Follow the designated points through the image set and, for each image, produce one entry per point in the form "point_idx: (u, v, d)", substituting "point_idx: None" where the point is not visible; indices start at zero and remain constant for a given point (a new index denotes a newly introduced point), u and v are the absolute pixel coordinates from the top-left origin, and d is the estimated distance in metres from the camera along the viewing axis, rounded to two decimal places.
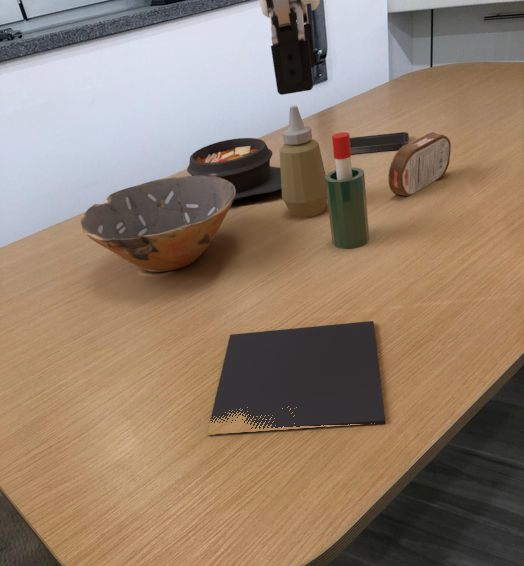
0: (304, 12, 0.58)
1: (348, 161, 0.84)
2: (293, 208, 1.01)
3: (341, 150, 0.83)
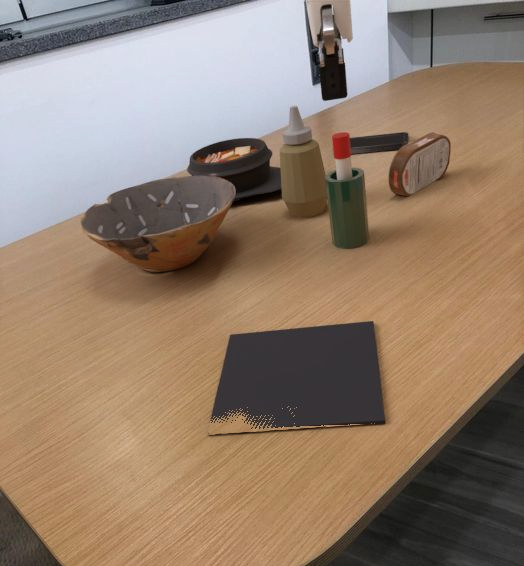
0: None
1: (348, 161, 0.84)
2: (293, 208, 1.01)
3: (341, 150, 0.83)
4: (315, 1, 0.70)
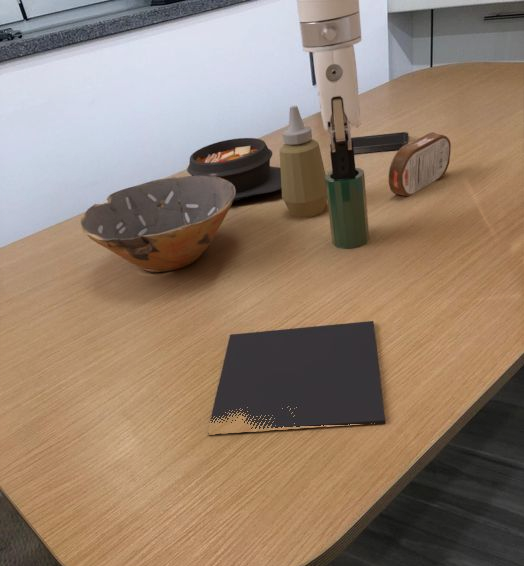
0: None
1: None
2: (293, 208, 1.01)
3: None
4: (325, 93, 0.76)
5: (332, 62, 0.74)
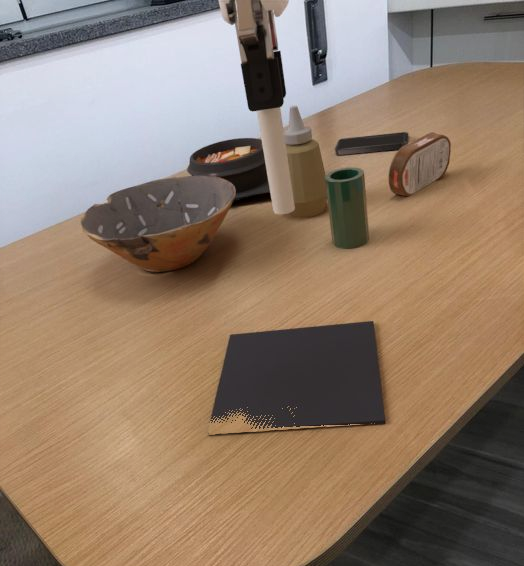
0: (272, 30, 0.53)
1: None
2: None
3: None
4: None
5: None
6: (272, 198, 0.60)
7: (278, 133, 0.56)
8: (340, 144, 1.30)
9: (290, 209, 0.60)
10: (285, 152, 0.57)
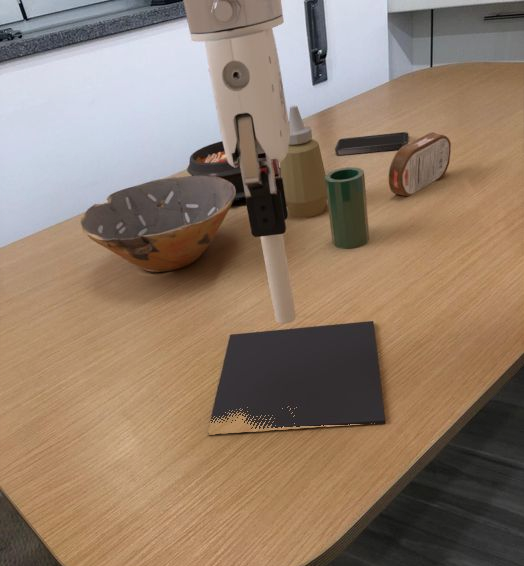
0: (274, 161, 0.55)
1: None
2: (293, 208, 1.01)
3: None
4: (225, 108, 0.47)
5: (231, 58, 0.45)
6: (274, 309, 0.62)
7: (280, 254, 0.58)
8: (340, 144, 1.30)
9: (291, 319, 0.62)
10: (287, 269, 0.60)
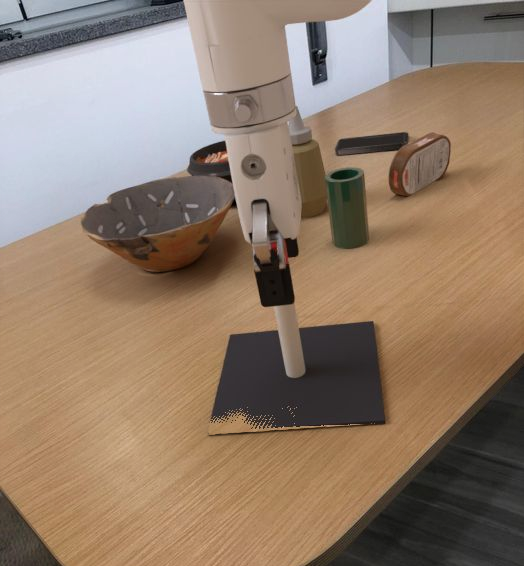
0: None
1: None
2: None
3: None
4: (243, 194, 0.51)
5: (249, 151, 0.49)
6: (285, 364, 0.66)
7: (291, 316, 0.62)
8: (340, 144, 1.30)
9: (301, 373, 0.66)
10: (297, 329, 0.64)
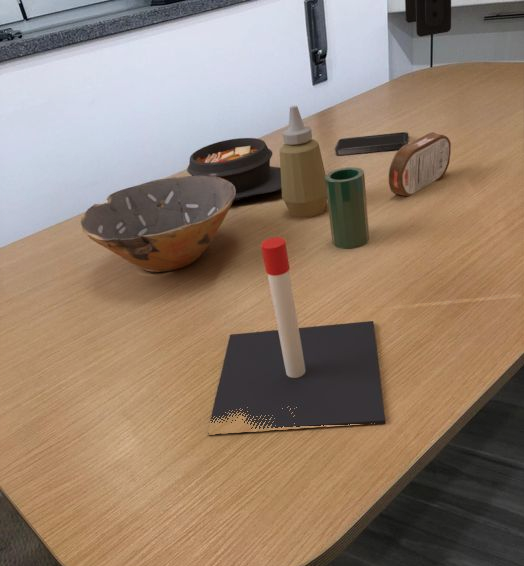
0: None
1: (285, 277, 0.60)
2: (293, 208, 1.01)
3: (275, 264, 0.58)
4: None
5: None
6: (285, 364, 0.66)
7: (291, 316, 0.62)
8: (340, 144, 1.30)
9: (301, 373, 0.66)
10: (297, 329, 0.64)
